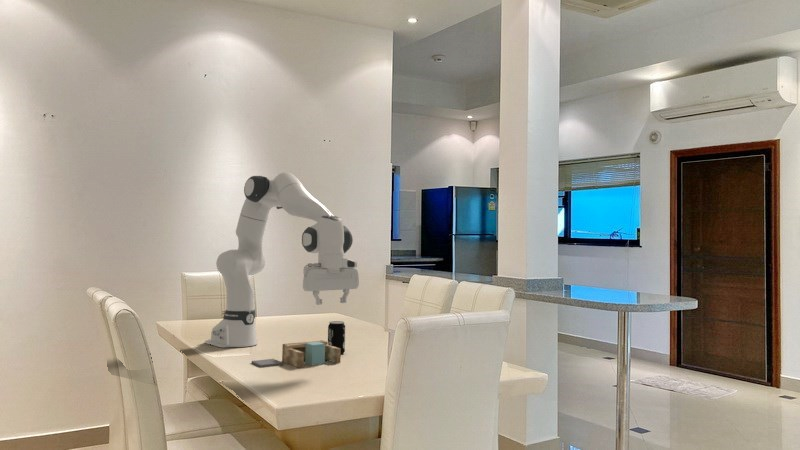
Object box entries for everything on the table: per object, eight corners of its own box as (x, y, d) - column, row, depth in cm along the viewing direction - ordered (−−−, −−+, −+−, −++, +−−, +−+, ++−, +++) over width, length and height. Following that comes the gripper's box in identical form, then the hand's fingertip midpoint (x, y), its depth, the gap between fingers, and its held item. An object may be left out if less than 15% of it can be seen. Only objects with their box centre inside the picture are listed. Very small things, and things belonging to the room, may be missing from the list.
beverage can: (341, 355, 220) (342, 323, 221) (325, 354, 222) (325, 322, 222) (346, 352, 227) (347, 321, 227) (330, 351, 228) (331, 320, 229)
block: (305, 362, 206) (305, 342, 206) (317, 361, 209) (318, 341, 209) (311, 365, 202) (312, 345, 202) (324, 363, 205) (325, 343, 205)
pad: (251, 363, 204) (251, 360, 204) (273, 360, 208) (273, 358, 208) (260, 367, 197) (260, 365, 197) (282, 364, 202) (282, 362, 202)
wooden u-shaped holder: (282, 360, 208) (282, 344, 209) (321, 356, 218) (322, 340, 218) (299, 367, 198) (299, 349, 198) (340, 362, 207) (340, 345, 207)
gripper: (308, 263, 191) (308, 306, 190) (361, 262, 203) (361, 302, 202) (299, 263, 196) (299, 304, 195) (351, 262, 208) (351, 301, 208)
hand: (331, 303), depth 199 cm, fingers open, 8 cm apart
